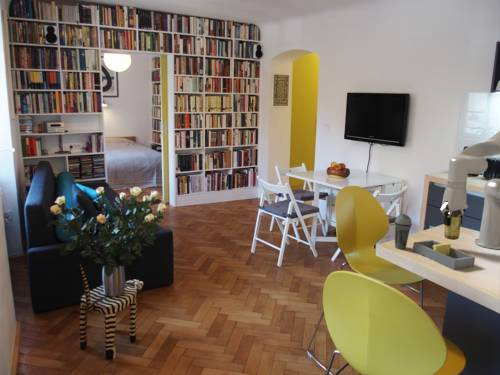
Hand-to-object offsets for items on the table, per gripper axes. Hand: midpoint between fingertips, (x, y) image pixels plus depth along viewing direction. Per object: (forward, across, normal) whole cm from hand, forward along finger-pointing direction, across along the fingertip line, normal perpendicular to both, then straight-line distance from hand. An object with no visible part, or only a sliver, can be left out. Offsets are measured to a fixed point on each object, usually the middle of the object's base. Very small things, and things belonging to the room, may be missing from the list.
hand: (452, 223), depth 184 cm
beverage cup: (+11, +22, -8) cm, 26 cm away
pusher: (+10, +14, +5) cm, 18 cm away
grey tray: (+11, +14, +8) cm, 19 cm away
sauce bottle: (+7, 0, 0) cm, 7 cm away
